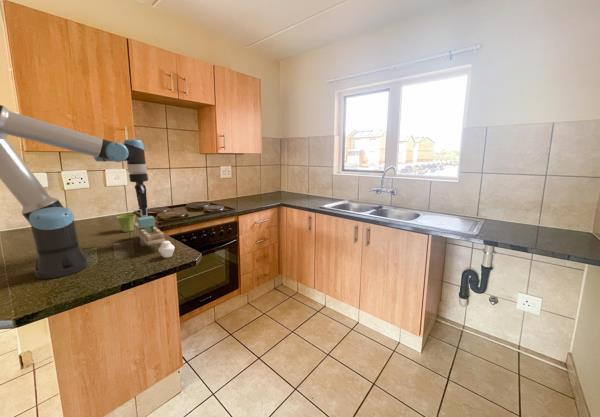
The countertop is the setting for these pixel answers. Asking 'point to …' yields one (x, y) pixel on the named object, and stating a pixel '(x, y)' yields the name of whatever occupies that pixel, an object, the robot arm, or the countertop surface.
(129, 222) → the plant pot
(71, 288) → the countertop surface
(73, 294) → the countertop surface
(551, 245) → the countertop surface
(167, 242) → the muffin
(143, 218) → the rider
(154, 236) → the beam
